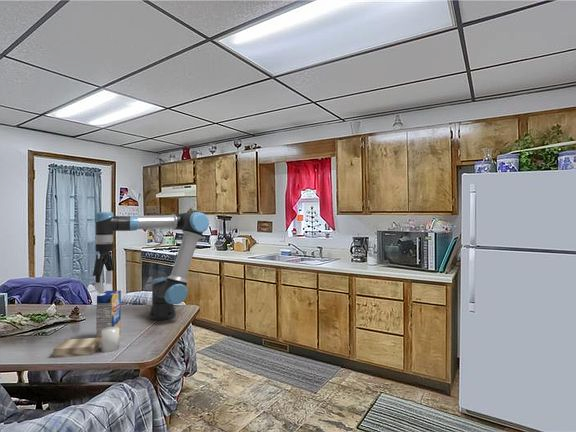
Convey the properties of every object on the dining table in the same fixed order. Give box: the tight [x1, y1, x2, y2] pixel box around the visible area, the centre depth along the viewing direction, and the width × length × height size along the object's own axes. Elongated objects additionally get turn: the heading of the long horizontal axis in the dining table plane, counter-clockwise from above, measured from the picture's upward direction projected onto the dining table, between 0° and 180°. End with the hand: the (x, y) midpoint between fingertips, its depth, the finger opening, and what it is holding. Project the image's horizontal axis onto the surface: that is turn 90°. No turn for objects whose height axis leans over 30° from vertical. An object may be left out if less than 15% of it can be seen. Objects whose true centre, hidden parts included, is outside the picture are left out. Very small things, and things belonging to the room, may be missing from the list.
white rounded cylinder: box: [100, 327, 120, 353], centre depth 148 cm, size 7×7×9 cm
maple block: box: [52, 337, 101, 358], centre depth 145 cm, size 15×11×4 cm
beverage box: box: [95, 290, 122, 338], centre depth 161 cm, size 7×11×22 cm, turn 7°
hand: (103, 286), depth 163 cm, fingers open, 13 cm apart
